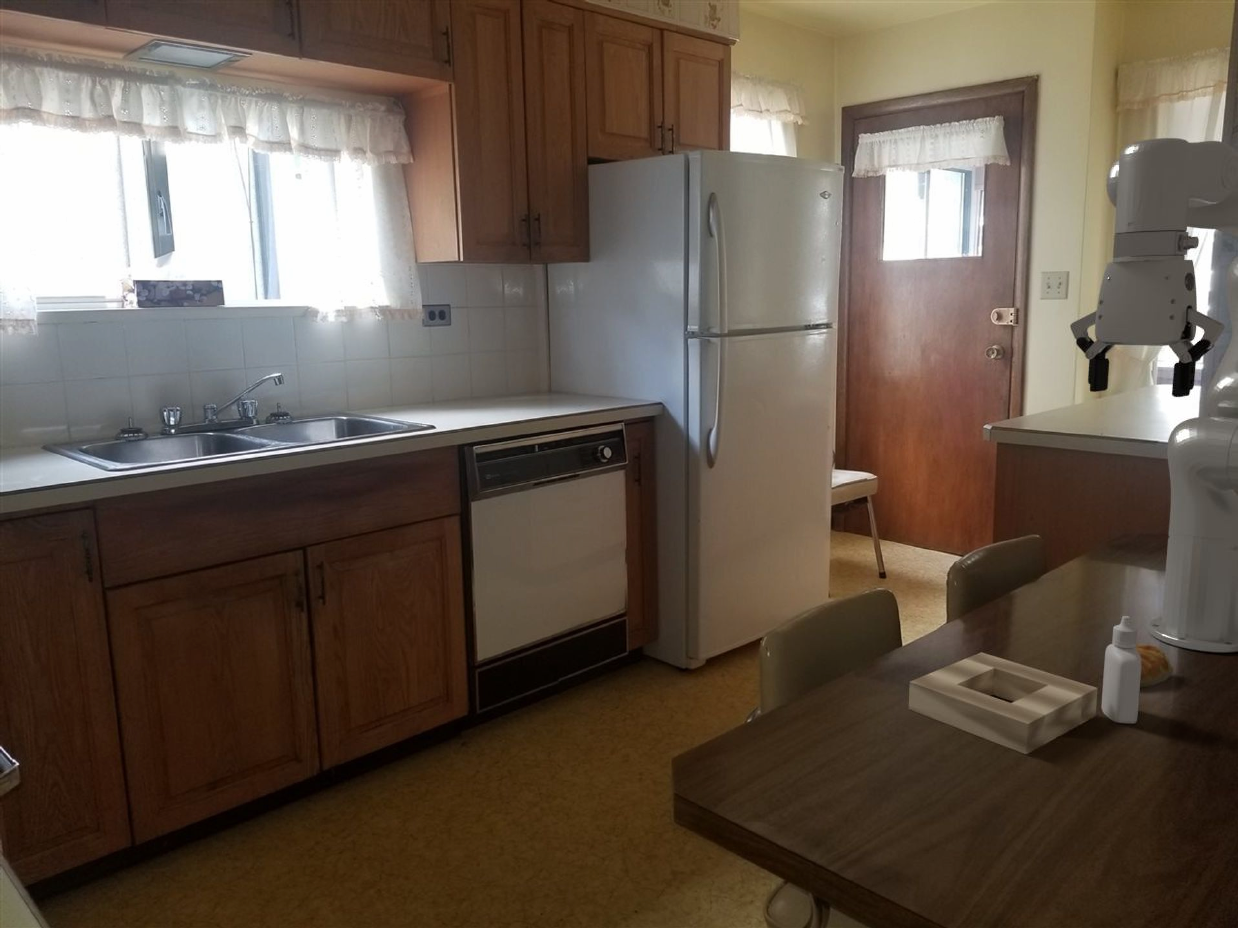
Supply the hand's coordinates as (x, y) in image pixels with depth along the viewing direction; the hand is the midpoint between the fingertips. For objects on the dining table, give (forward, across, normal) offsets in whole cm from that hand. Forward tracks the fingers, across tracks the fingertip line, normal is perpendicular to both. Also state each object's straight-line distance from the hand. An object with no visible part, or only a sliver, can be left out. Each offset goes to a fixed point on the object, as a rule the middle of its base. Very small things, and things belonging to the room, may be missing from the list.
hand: (1138, 393), depth 116 cm
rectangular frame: (+37, +4, +20) cm, 42 cm away
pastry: (+37, -1, -3) cm, 37 cm away
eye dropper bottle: (+37, -5, +10) cm, 39 cm away
